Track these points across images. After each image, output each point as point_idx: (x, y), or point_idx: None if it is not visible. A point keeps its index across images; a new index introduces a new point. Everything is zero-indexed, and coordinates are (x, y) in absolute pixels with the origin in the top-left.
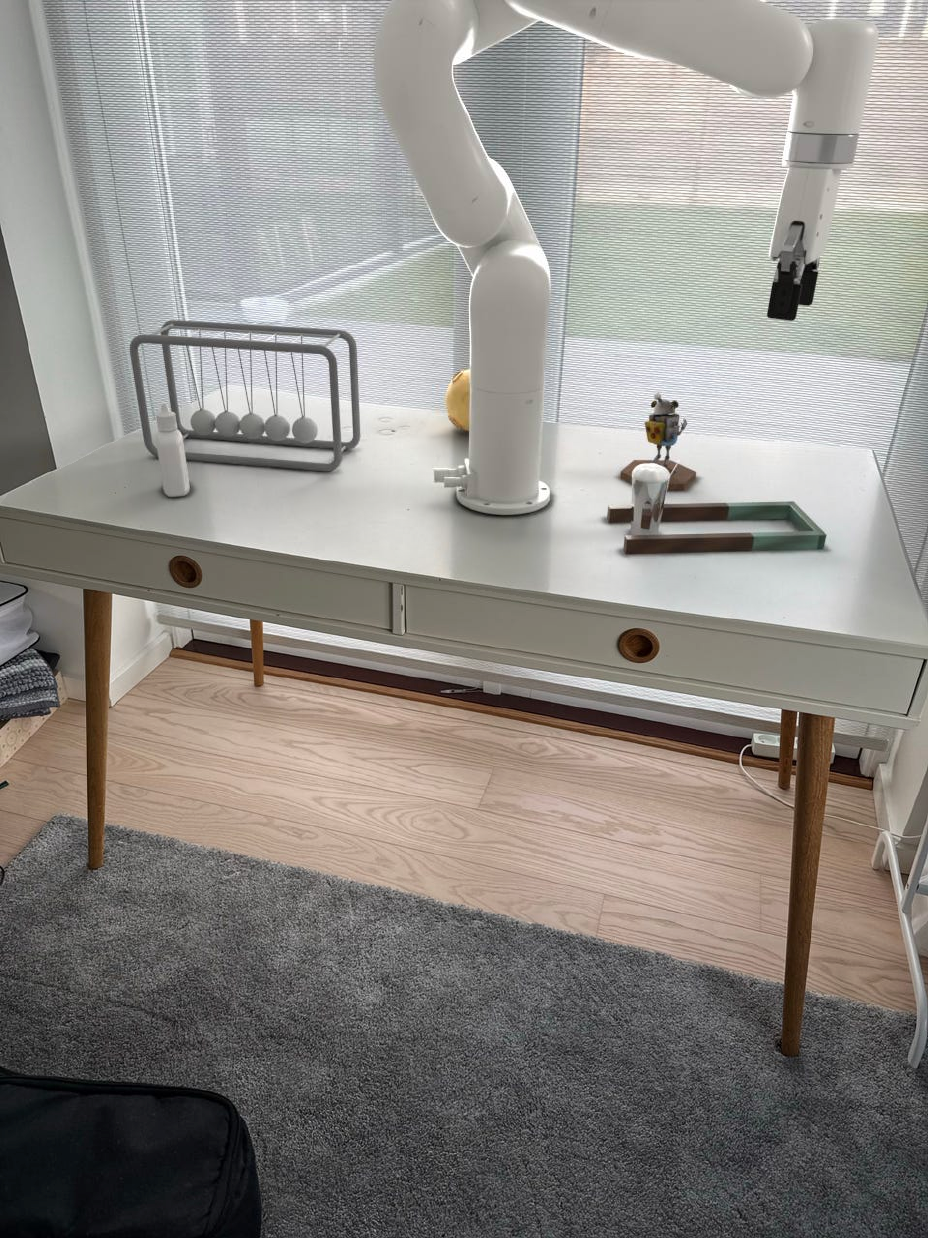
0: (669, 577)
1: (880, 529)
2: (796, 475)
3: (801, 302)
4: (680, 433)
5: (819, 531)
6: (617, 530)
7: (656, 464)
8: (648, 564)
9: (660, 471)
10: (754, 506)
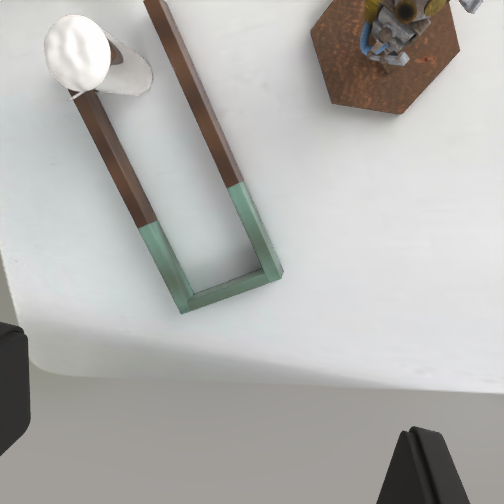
0: (39, 134)
1: (277, 374)
2: (465, 282)
3: (380, 499)
4: (371, 59)
5: (187, 306)
6: (136, 31)
7: (85, 56)
8: (58, 102)
9: (61, 71)
10: (243, 224)
